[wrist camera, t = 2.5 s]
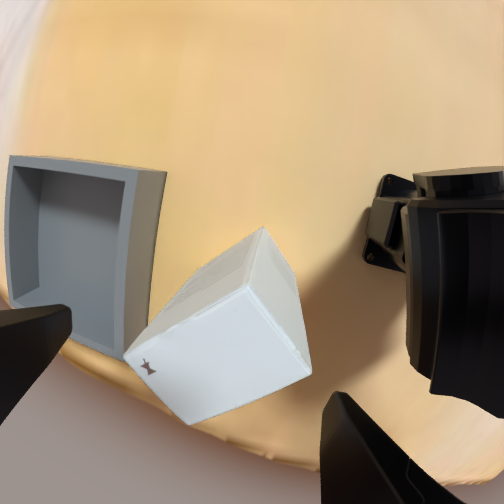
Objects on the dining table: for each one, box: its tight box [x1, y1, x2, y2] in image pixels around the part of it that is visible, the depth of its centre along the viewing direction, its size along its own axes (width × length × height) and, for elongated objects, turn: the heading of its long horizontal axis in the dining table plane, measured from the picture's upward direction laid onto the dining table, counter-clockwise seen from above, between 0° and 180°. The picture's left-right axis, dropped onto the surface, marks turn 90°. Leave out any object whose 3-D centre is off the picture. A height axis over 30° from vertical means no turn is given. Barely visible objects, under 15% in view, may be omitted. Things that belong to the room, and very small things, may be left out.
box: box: [4, 155, 167, 362], centre depth 19 cm, size 14×14×4 cm
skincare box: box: [123, 227, 312, 425], centre depth 15 cm, size 6×4×12 cm
